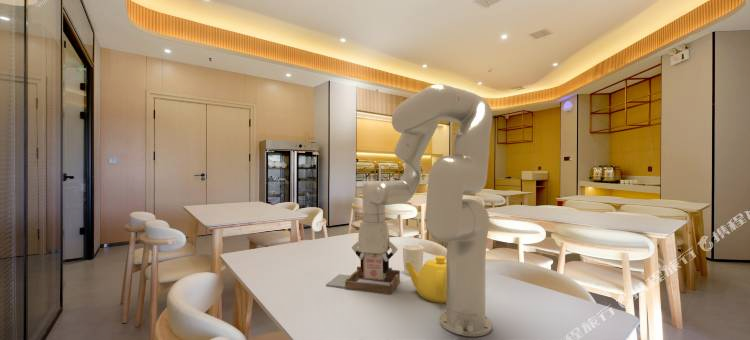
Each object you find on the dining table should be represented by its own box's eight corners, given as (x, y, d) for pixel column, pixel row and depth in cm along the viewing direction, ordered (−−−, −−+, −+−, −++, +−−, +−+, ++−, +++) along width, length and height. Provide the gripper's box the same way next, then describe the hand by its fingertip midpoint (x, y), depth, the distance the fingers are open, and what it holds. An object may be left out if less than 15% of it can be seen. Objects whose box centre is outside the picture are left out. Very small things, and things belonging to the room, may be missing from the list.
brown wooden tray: (391, 294, 99) (391, 280, 99) (345, 289, 104) (345, 275, 104) (399, 281, 111) (399, 268, 111) (358, 277, 115) (358, 264, 116)
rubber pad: (345, 288, 104) (345, 286, 104) (325, 286, 106) (325, 284, 106) (356, 277, 115) (356, 276, 115) (339, 275, 117) (339, 274, 117)
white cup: (424, 276, 116) (424, 249, 116) (403, 276, 116) (403, 249, 116) (422, 269, 124) (422, 244, 124) (402, 269, 124) (402, 244, 124)
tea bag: (367, 275, 109) (366, 246, 110) (385, 277, 107) (385, 247, 108) (363, 278, 106) (363, 248, 106) (382, 280, 104) (382, 249, 104)
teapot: (440, 311, 88) (440, 267, 88) (402, 291, 102) (402, 254, 102) (479, 297, 97) (479, 258, 97) (439, 281, 111) (439, 247, 111)
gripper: (345, 219, 106) (346, 272, 106) (396, 220, 101) (397, 276, 100) (353, 216, 113) (354, 266, 113) (401, 217, 108) (402, 270, 108)
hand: (374, 271), depth 107 cm, fingers closed on tea bag, 6 cm apart
